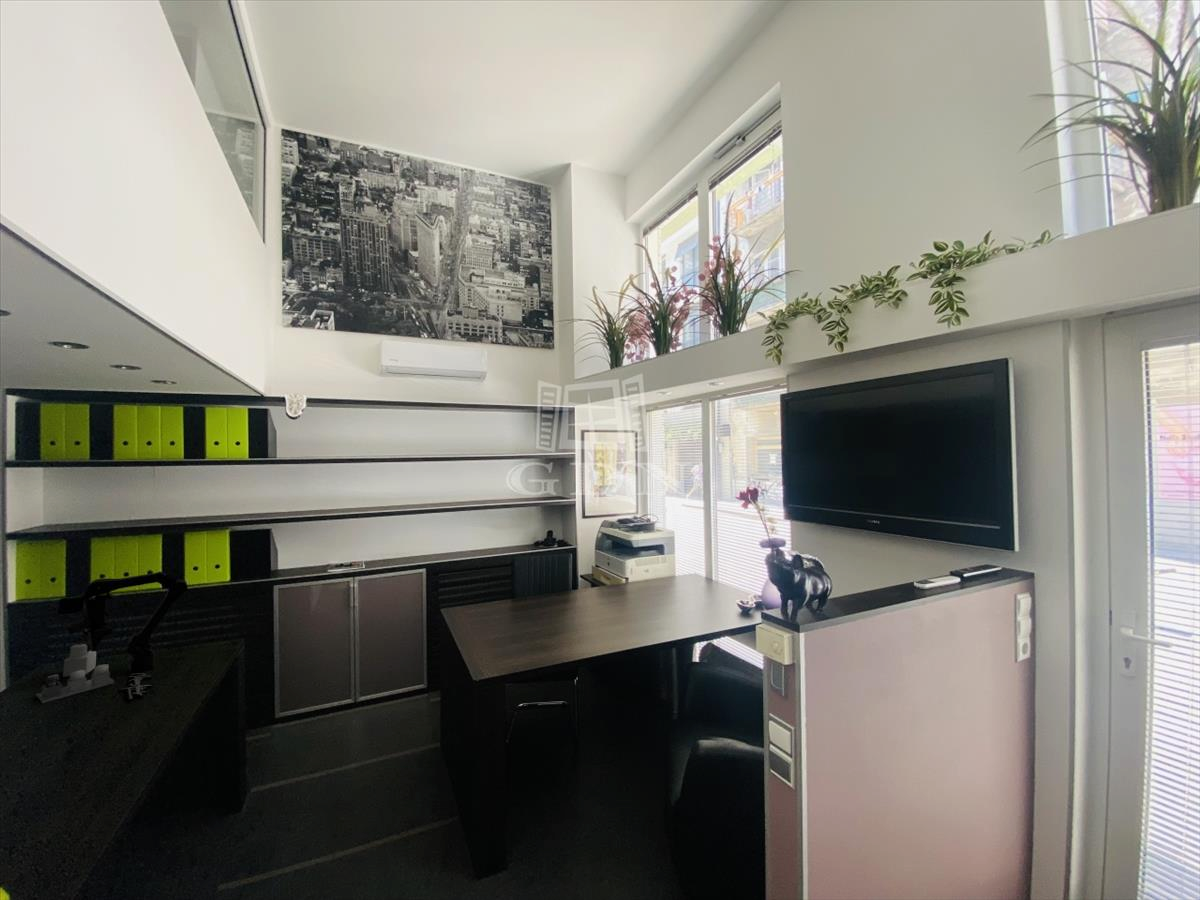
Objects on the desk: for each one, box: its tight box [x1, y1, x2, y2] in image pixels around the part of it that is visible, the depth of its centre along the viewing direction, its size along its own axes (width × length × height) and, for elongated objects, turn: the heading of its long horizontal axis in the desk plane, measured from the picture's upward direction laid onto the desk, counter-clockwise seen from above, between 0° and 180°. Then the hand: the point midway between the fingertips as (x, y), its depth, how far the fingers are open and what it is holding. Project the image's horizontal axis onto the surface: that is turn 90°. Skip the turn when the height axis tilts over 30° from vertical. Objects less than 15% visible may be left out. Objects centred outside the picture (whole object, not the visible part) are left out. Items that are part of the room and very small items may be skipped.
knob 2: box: [93, 663, 109, 675], centre depth 188 cm, size 4×4×6 cm
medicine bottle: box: [62, 641, 97, 678], centre depth 196 cm, size 7×7×12 cm
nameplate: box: [117, 672, 154, 703], centre depth 185 cm, size 27×2×10 cm
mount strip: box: [36, 670, 115, 704], centre depth 182 cm, size 19×9×4 cm, turn 149°
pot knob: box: [45, 673, 60, 687], centre depth 177 cm, size 3×3×4 cm
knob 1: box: [69, 670, 86, 681], centre depth 182 cm, size 4×4×6 cm
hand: (93, 648), depth 191 cm, fingers closed
